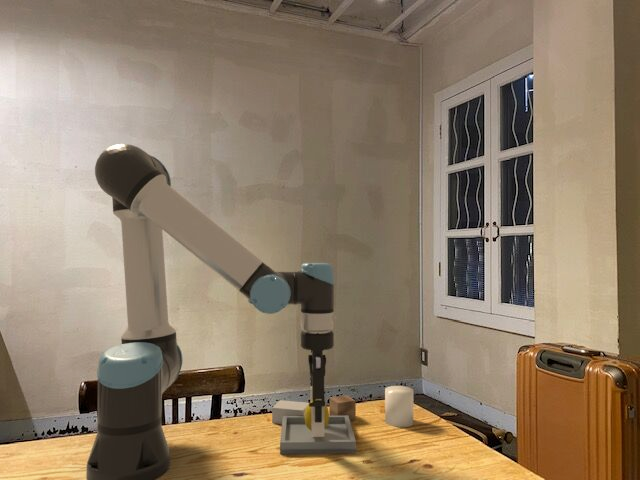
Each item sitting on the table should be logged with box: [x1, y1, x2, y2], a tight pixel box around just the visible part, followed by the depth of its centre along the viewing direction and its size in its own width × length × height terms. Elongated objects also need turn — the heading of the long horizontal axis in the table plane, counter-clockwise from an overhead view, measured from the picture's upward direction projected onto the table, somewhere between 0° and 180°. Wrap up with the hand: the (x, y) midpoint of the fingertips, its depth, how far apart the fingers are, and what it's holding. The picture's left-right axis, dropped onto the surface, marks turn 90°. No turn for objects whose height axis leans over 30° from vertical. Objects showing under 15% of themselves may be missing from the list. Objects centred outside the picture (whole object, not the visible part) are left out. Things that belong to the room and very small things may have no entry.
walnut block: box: [328, 394, 357, 422], centre depth 122 cm, size 5×5×5 cm
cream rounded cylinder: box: [384, 385, 414, 428], centre depth 119 cm, size 7×7×8 cm
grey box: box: [271, 399, 310, 425], centre depth 120 cm, size 8×6×4 cm
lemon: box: [305, 399, 329, 431], centre depth 109 cm, size 6×6×8 cm
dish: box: [279, 415, 357, 455], centre depth 108 cm, size 16×16×2 cm
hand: (316, 424), depth 109 cm, fingers open, 13 cm apart
